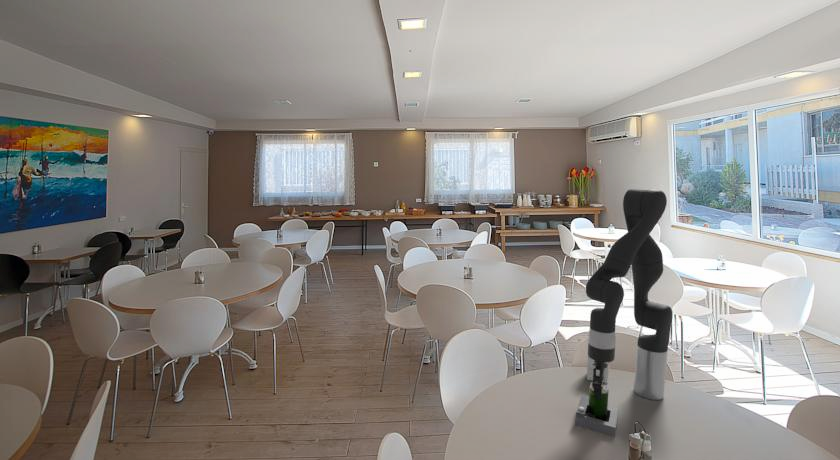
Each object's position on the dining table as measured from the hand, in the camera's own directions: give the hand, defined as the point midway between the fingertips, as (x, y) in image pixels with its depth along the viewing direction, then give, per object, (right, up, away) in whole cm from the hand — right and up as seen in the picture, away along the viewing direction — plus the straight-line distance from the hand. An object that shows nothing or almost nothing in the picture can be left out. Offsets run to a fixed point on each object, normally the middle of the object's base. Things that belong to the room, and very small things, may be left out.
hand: (598, 392), depth 121 cm
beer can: (0, -10, +1) cm, 10 cm away
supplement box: (+13, -7, +29) cm, 32 cm away
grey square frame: (0, -10, +1) cm, 10 cm away
